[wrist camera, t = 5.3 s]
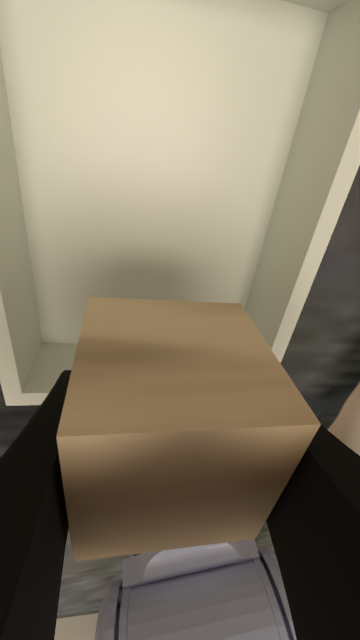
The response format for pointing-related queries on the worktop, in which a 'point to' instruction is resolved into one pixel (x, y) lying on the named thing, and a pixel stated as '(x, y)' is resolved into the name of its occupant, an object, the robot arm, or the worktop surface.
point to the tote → (167, 162)
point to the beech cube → (175, 428)
